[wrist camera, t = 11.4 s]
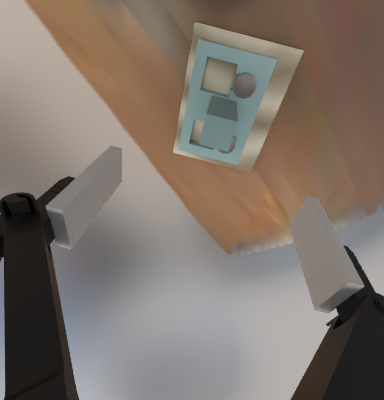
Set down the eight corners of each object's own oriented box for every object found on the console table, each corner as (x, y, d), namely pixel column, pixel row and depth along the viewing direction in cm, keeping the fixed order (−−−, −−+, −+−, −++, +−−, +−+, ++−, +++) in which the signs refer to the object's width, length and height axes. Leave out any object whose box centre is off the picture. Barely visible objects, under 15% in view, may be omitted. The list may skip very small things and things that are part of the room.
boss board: (195, 22, 28) (190, 20, 24) (301, 50, 28) (311, 52, 25) (174, 150, 39) (168, 161, 35) (250, 169, 39) (252, 182, 36)
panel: (199, 38, 28) (186, 40, 20) (275, 58, 28) (293, 68, 20) (179, 146, 37) (165, 178, 29) (237, 160, 37) (238, 196, 29)
